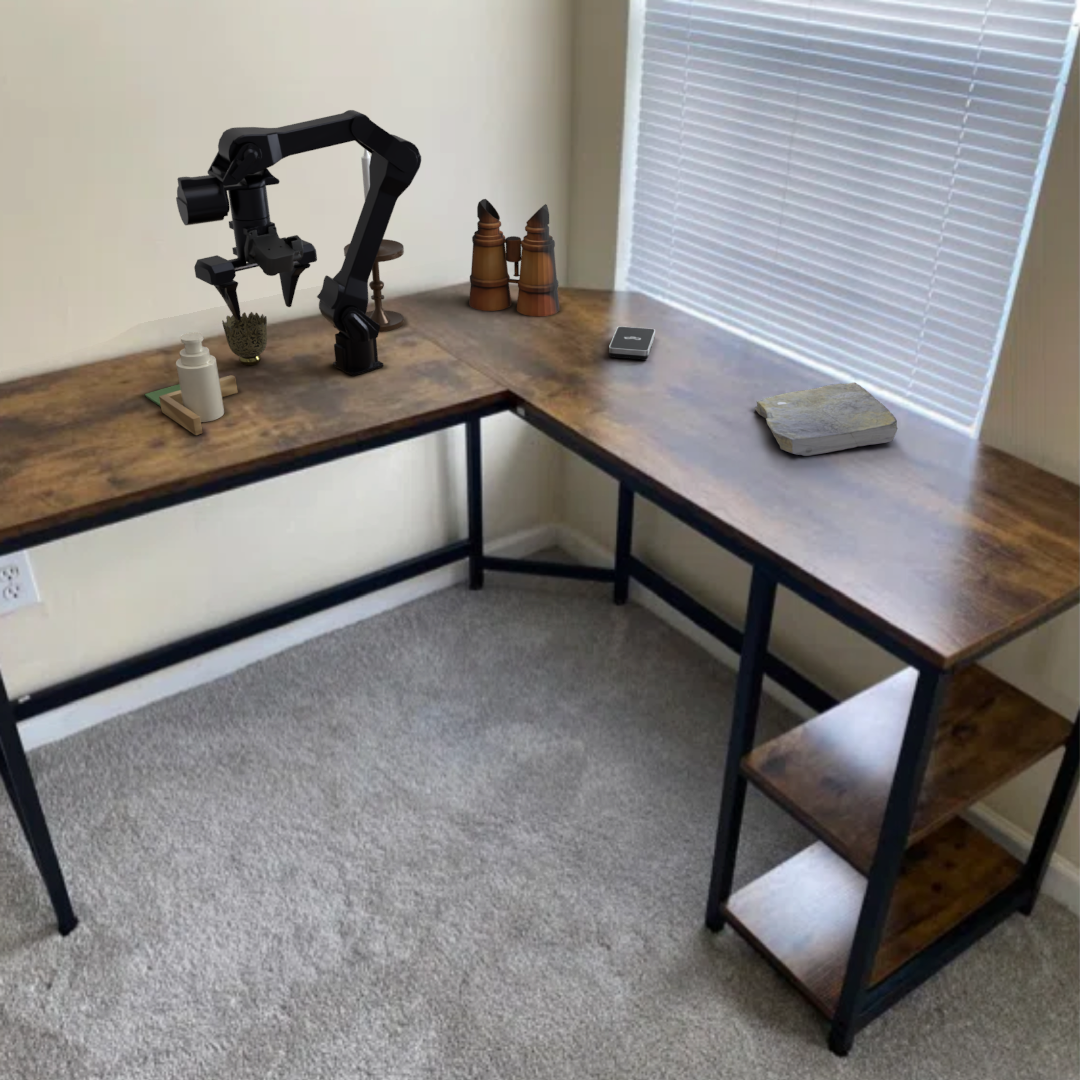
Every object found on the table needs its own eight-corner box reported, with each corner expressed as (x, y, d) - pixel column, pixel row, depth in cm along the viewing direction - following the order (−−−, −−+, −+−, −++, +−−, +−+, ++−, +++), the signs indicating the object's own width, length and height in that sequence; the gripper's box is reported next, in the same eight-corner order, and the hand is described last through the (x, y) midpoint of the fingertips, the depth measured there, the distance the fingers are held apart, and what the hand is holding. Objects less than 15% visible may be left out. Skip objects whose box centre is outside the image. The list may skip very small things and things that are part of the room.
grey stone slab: (736, 416, 179) (781, 458, 164) (739, 389, 176) (785, 429, 162) (851, 408, 183) (905, 448, 168) (855, 381, 181) (910, 419, 166)
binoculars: (462, 308, 219) (458, 204, 209) (477, 294, 226) (474, 194, 215) (552, 318, 214) (552, 213, 204) (565, 304, 221) (566, 201, 210)
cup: (261, 372, 191) (255, 328, 187) (221, 369, 193) (214, 324, 189) (278, 356, 198) (273, 312, 194) (239, 353, 199) (233, 310, 195)
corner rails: (234, 390, 185) (231, 374, 184) (269, 411, 178) (267, 395, 177) (161, 412, 178) (158, 396, 176) (195, 435, 171) (192, 419, 169)
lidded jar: (212, 403, 181) (200, 326, 174) (231, 414, 177) (219, 336, 170) (178, 413, 177) (164, 335, 171) (196, 425, 174) (182, 346, 167)
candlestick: (420, 322, 212) (409, 129, 194) (377, 337, 205) (361, 139, 187) (381, 309, 218) (367, 120, 200) (338, 324, 211) (319, 130, 193)
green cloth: (211, 376, 190) (211, 374, 190) (229, 387, 186) (228, 385, 186) (144, 396, 183) (144, 394, 183) (161, 407, 179) (161, 405, 179)
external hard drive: (655, 339, 205) (655, 328, 204) (647, 362, 196) (647, 351, 195) (617, 336, 206) (617, 326, 205) (608, 358, 197) (608, 348, 196)
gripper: (221, 238, 162) (236, 341, 170) (331, 215, 173) (340, 312, 181) (185, 222, 169) (201, 321, 177) (292, 201, 180) (303, 295, 188)
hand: (263, 313), depth 181 cm, fingers open, 9 cm apart
